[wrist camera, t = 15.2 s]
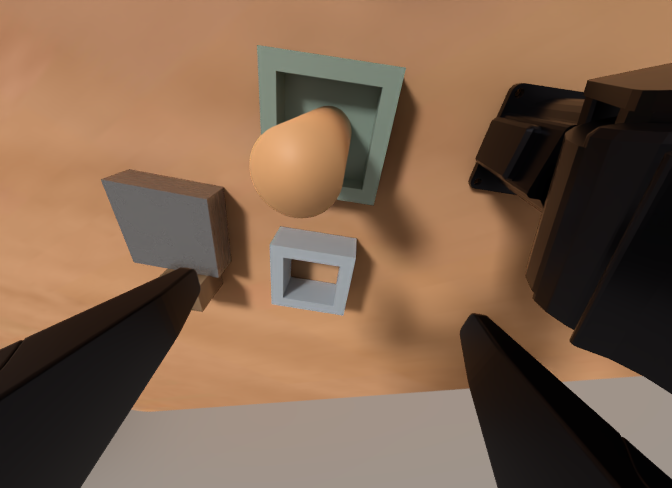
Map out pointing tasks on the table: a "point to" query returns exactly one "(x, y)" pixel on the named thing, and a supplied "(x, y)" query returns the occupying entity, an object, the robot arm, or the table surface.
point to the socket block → (318, 251)
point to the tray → (339, 91)
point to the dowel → (302, 162)
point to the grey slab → (171, 221)
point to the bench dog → (204, 290)
